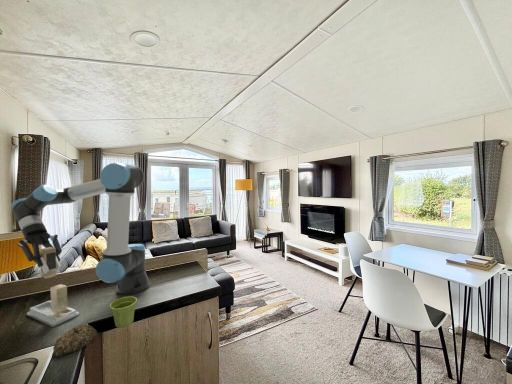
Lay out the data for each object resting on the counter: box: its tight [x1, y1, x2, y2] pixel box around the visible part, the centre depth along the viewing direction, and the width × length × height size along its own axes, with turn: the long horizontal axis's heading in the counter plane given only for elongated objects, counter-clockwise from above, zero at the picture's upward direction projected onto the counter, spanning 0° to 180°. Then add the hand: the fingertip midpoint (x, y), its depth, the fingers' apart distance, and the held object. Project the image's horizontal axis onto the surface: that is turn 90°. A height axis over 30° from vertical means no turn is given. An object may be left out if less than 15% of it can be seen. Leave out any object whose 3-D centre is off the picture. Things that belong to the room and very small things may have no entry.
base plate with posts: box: [26, 283, 80, 328], centre depth 95 cm, size 20×9×13 cm, turn 66°
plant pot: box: [109, 296, 138, 329], centre depth 89 cm, size 9×9×9 cm
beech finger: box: [39, 247, 57, 279], centre depth 98 cm, size 5×4×12 cm
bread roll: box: [51, 324, 99, 357], centre depth 80 cm, size 13×12×5 cm
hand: (52, 269), depth 97 cm, fingers closed on beech finger, 3 cm apart
